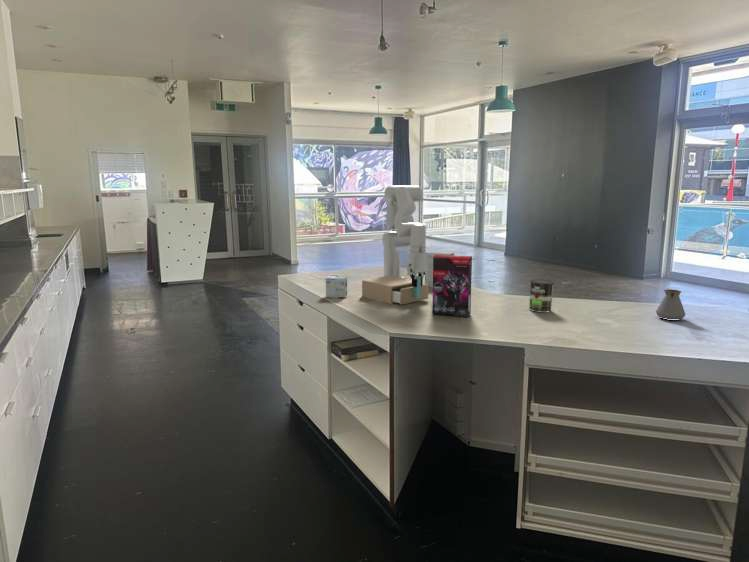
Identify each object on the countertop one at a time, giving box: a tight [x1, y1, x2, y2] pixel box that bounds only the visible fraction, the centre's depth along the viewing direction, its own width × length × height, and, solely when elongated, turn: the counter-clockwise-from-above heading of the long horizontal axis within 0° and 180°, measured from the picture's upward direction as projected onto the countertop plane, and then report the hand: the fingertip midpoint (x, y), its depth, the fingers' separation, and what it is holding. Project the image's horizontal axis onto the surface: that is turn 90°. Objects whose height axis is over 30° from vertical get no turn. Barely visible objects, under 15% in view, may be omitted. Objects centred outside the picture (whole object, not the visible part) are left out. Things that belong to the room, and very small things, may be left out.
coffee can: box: [528, 278, 554, 312], centre depth 243 cm, size 10×10×14 cm
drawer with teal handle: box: [392, 275, 429, 305], centre depth 263 cm, size 19×24×13 cm
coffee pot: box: [655, 288, 686, 320], centre depth 224 cm, size 21×12×15 cm, turn 148°
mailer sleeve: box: [361, 275, 412, 305], centre depth 270 cm, size 20×22×9 cm
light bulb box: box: [325, 275, 348, 298], centre depth 272 cm, size 11×7×11 cm, turn 84°
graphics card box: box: [431, 254, 473, 318], centre depth 234 cm, size 17×7×27 cm, turn 70°
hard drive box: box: [424, 251, 455, 288], centre depth 297 cm, size 16×8×20 cm, turn 58°
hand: (417, 285), depth 255 cm, fingers closed on drawer with teal handle, 3 cm apart
